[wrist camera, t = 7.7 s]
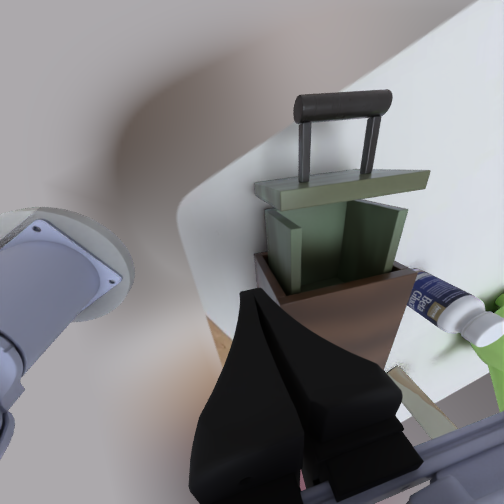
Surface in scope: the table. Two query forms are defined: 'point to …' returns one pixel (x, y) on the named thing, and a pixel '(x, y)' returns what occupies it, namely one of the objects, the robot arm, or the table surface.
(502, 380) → the teapot
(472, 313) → the pill bottle
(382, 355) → the cabinet
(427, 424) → the box
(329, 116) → the drawer
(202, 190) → the table surface
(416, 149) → the table surface
